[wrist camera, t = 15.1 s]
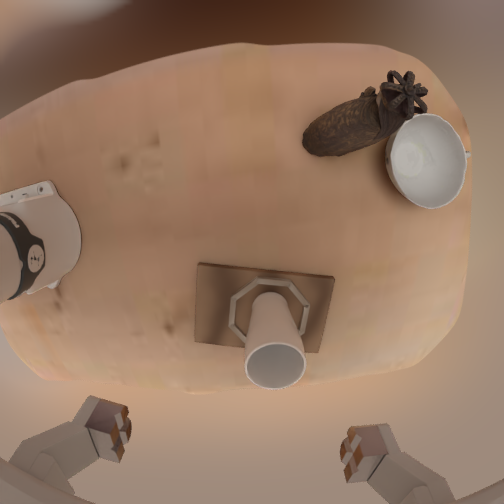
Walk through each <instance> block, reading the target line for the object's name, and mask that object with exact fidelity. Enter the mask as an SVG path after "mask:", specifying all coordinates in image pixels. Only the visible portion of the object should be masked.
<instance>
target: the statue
mask: <svg viewBox="0 0 504 504" xmlns="http://www.w3.org/2000/svg"><path fill="white" fill-rule="evenodd" d="M393 76H394V77H395V78H396V79H397V80H398V82H399V83H400V84H395V83H394V79H393ZM387 79H388V82H383V83H382V84H381V85H380V92H379V93H378V95H377V94H375V88H373V87H371V86H370V87H368V88H367V89H366V90H365V92H362V93H361V96H360V97H359V98H358V99H354V100H351V101H348V102H345V103H342V104H340V105H338V106H336V107H335V108H333V109H332V110H331V111H329V112H327V113H325V114H323V115H322V116H320V117H318V118H317V119H316V120H315V121H313V122H312V123H311V124H310V125H309V127H308V128H307V129H306V130H305V132H304V133H303V141H302V144H303V146H304V148H305V149H307V150H308V151H309V153H310V154H314V155H317V156H320V157H322V156H342V155H345V154H347V153H350V152H353V151H356V150H359V149H362V148H364V147H367V146H370V145H372V144H375V143H377V142H379V141H380V140H382V139H384V138H386V137H387V136H389V135H391V134H393V133H394V132H396V131H397V130H398V129H399V128H400V127H401V126H402V125H403V123H404V122H405V120H406V121H408V120H410V119H412V118H413V116H414V113H418V114H423V113H424V114H425V113H427V105H426V104H425V103H424V102H423V101H422V100H421V99H420V97H423V96H425V95H427V92H428V90H427V89H426V88H425V87H420V86H421V83H418V84H416V85H414V86H413V84H414V79H415V75H414V74H413V72H411V71H407V72H406V74H405V75H404V77H403V78H402V77H401V75H400V74H399V73H398V72H396V71H391V70H390V71H389V72H388V75H387ZM414 101H415V102H416V103H417V104H418V105H419V106H420V108H419V107H416V106H414Z"/></svg>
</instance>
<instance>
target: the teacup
mask: <svg viewBox="0 0 504 504" xmlns="http://www.w3.org/2000/svg"><path fill="white" fill-rule="evenodd" d="M470 156H471V152H470V151H465V148H464V146H463V144H462V142H461V139H460V137H459V136H458V134H457V133H456V131H455V130H454V129H453V127H452V125H450V124H449V123H448V122H447V121H446V120H443V118H442V117H440V116H438V115H435V114H428V113H425V114H424V113H423V114H417V115H414V116H413V118H412V119H410V120H408V121H406V120H405V122H404V123H403V125H402V126H401V127H400V128H399V129H398V130H397V131H396V132H394V133H393V134H391V136H390V138H389V140H388V142H387V145H386V150H385V164H386V169H387V172H388V175H389V177H390V179H391V181H392V183H393V184H394V186H395V187H396V188H397V190H398V191H399V192H400V193H401V194H402V195H403V196H405V197H406V198H407V199H409V200H410V201H411V202H412V203H414V204H416V205H418V206H420V207H424V208H427V209H436V208H440V207H442V206H445V205H447V204H448V203H450V202H451V201H453V200H454V199H455V197H456V196H457V195H458V194H459V193H460V190H461V188H462V186H463V184H464V181H465V172H466V168H467V158H469V157H470Z"/></svg>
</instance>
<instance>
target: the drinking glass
mask: <svg viewBox="0 0 504 504" xmlns="http://www.w3.org/2000/svg"><path fill="white" fill-rule="evenodd" d="M306 364H307V363H306V356H305V350H304V346H303V342H302V339H301V336H300V334H299V331H298V329H297V327H296V324H295V322H294V320H293V317H292V315H291V313H290V310H289V307H288V303H287V301H286V299H285V298H284V297H283V296H282V295H280V294H278V293H275V292H265V293H263V294H261V295H259V296H258V297H257V298H256V299H255V300H254V302H253V304H252V313H251V318H250V323H249V327H248V332H247V336H246V342H245V349H244V369H245V373H246V375H247V377H248V379H249V380H250V381H251V382H252V383H254V384H255V385H257V386H259V387H261V388H264V389H269V390H278V389H284V388H287V387H289V386H291V385H293V384H295V383H296V382H297V381H299V380H300V379H301V377H302V376H303V374H304V373H305V370H306Z"/></svg>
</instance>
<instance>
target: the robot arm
mask: <svg viewBox="0 0 504 504" xmlns="http://www.w3.org/2000/svg"><path fill="white" fill-rule="evenodd" d="M42 188H43V191H42ZM80 250H81V233H80V228H79V224H78V221H77V219H76V216H75V214H74V212H73V211H72V209H71V208H70V206H69V205H68V204H67V203H66V202H65V201H64V200H63V199H62V198H61V197H60V196H59V195H58V193H57V190H56V188H55V186H54V184H53V183H52V182H51V181H50V180H47V181H43V182H40V183H36V184H33V185H29V186H26V187H23V188H19V189H16V190H13V191H10V192H7V193H4V194H1V195H0V304H1V303H3V302H4V301H6V300H11V299H14V298H15V297H19V296H20V295H22V294H23V293H24V292H25V293H27V294H32V293H34V292H36V291H38V290H40V289H42V288H44V287H48V288H51V289H53V288H56V287H57V286H58V285H59V283H60V281H61V279H62V277H63V276H64V275H65V274H67V273H68V272H70V271H71V270H72V269H73V267H74V266H75V265H76V263H77V261H78V258H79V255H80ZM128 413H129V411H128V407H127V406H125V405H122V404H118V403H115V402H111V401H108V400H105V399H101V398H98V397H94V396H89V397H87V399H86V400H85V402H84V403H83V405H82V406H81V408H80V410H79V411H78V413H77V414H76V416H75V418H74V419H73V421H72V422H66V423H63V424H61V425H59V426H57V427H55V428H52V429H50V430H48V431H45V432H43V433H41V434H38V435H36V436H33V437H31V438H28V439H26V440H24V441H22V442H21V444H20V445H19V447H18V448H17V450H16V451H15V453H14V454H13V456H12V457H11V459H10V460H9V462H7V461H5V460H3V459H2V458H0V504H95V503H92V502H89V501H87V500H84V499H81V498H79V497H77V496H74V494H75V492H74V489H73V488H72V487H71V485H70V483H69V482H68V481H67V480H68V479H69V478H71V477H72V476H74V475H76V474H77V473H78V472H80V471H81V470H83V469H85V468H86V467H87V466H89V465H90V464H92V463H93V462H95V461H96V460H97V459H99V457H100V458H103V459H106V460H110V461H113V462H117V463H120V461H121V459H122V456H123V454H124V451H125V450H124V447H123V445H124V444H126V443H128V441H129V438H130V436H131V430H132V426H131V420H130V419H129V418H128V417H127V416H128ZM347 435H348V437H347V438H345V439H344V440H343V442H342V444H341V448H340V457H341V462H342V463H344V464H345V465H346V467H345V469H344V474H345V478H346V482H347V483H355V482H365V481H367V483H368V484H369V485H370V486H372V488H373V489H374V490H375V491H376V492H377V493H379V494H380V495H381V496H382V497H383V498H384V499H385V500H386V501H387V502H388V503H389V504H504V479H502V480H500V481H498V482H496V483H494V484H493V485H490V486H488V487H486V488H484V489H482V490H479V491H477V492H475V493H473V494H470V495H468V496H466V497H463V498H461V499H458V500H455V498H454V496H453V494H452V492H451V490H450V488H449V485H448V483H447V481H446V480H445V478H444V477H442V476H440V475H439V474H437V473H436V472H434V471H433V470H431V469H429V468H428V467H426V466H424V465H423V464H422V463H420V462H419V461H417V460H416V459H414V458H412V457H411V456H410V455H408V454H407V453H405V452H401V451H400V448H399V446H398V444H397V442H396V439H395V437H394V435H393V433H392V431H391V428H390V426H389V425H388V424H387V423H386V424H375V425H374V424H373V425H362V426H351V427H350V428H349V429H348V431H347Z"/></svg>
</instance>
